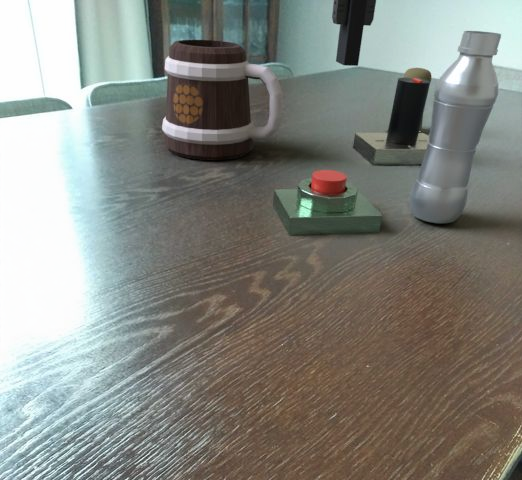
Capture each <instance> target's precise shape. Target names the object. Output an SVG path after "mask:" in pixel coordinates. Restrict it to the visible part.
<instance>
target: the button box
mask: <svg viewBox="0 0 522 480" xmlns="http://www.w3.org/2000/svg"><path fill="white" fill-rule="evenodd" d="M311 183H312V177H308V178H305V179H302V180H301V181H300V182H299V183H298V184H297V188H288V189H285V188H283V189H281V188H280V189H279V188H278V189H274V190H273V198H272V199H273V201H272V207H273V209H274V210H275V212H276V215H277V216H278V218H279V220H280V222H281V224H282V225H283V227H284V229H285V231H286V233H287V236H313V235H315V236H317V235H319V236H321V235H346V234H347V235H348V234H349V235H350V234H351V235H353V234H379V233H380V229H381V225H382V222H383V221H382V220H383V214H382V213H381V212H380V211H379V210H378V209H377V208H376V207H375V205H373V203H372V202H371V201H370V200H369V199H368V198H367V197H366V196H365V195H364V194H363V193H362V192H361V191H360V190H359V188H358V187H356V186H355V184H353V183H351V182H349V181H346V186H345V192H344V193H340V194H326V193H320V192H316V191H314V190H312V189H311Z"/></svg>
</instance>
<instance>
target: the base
mask: <svg viewBox="0 0 522 480" xmlns="http://www.w3.org/2000/svg"><path fill="white" fill-rule="evenodd" d="M387 133H388V132H354V136H353V137H354V138H353V142H352V148H353V149H354V150H355V151H356V152H357V153H358V154H360V155H361V156H362V157H363V158H365V160H367V161H368V162H369V163H370V164H371V165H372V166H421V165H422V162H423V159H424V156H425V153H426V149H427V144H428V141H429V134H428V135H427V134H426V133H424V132H421V133H419V134H418V138H417V142H416V143H414V144H398V143H394V142H391V141H388V140H387Z"/></svg>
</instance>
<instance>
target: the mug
mask: <svg viewBox="0 0 522 480" xmlns="http://www.w3.org/2000/svg"><path fill="white" fill-rule="evenodd" d="M168 52H169V54H168V56H167V57H166V58H165V61H164V71H165V72H166V73H167V80H166V81H167V82H166V103H165V117H164V118H163V119H162V126H161V130H162V132H163V133H164V134H163V135H164V137H163V144H164V146H165V147H166V148H167V149H168V150H169V151H170V152H171V153H172V154H174V155H177V156H179V157H183V158H187V159H191V160H200V161H201V160H202V161H223V160H224V161H225V160H231V159H237V158H241V157H243V156H245V155H247V154H248V153H249V152H250V151H251V149H252V148H253V147H254V141H253V140H258V141H260V140H261V141H262V140H267V139H269V138H270V137H271V136H273V135H274V134H276V133H277V132H278V131H279V128H280V125H281V122H282V118H283V100H284V99H283V97H284V96H283V89H282V87H281V84H280V82H279V79H278V76H276V74H275V73H274V72H273V71H272V70H271V69H270V67H268V66H265V65H260V64H255V63H250V62H249V61H248V60H247V53H246V49H244V47H243V46H242V45H241V44H239V43H236V42H232V41H223V40H213V39H179V40H175V41H173V42H172V44H171V45H170V46H169V51H168ZM249 79H252V80H260V81H261V82H262V83H263V84H264V85H265V88H266V90H267V92H268V95H269V113H268V114H269V115H268V120H267V123H266V124H265V125H264V126H255V125H254V122H253V120H252V119H251V116H252V115H251V102H250V87H249V86H250V85H249Z"/></svg>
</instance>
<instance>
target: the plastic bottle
mask: <svg viewBox="0 0 522 480" xmlns="http://www.w3.org/2000/svg"><path fill="white" fill-rule="evenodd" d="M501 38H502V33H499V32H492V31H491V32H490V31H481V30H464V31H463V33H462V36H461V40H460V44H459V45H458V47H457V49H456V50H457V52H459V55H458V57H457V58H456V60H454V62H453V63H452V64H451V65H450V66H449V67H448V68H447V69H446V70H445V71H444V72H443V73H442V75H441V76H440V77H439V79H438V81H437V83H436V85H435V87H434V92H433V101H432V102H433V103H432V113H431V122H430V128H429V134H428V136H429V141H428V144H427V149H426V153H425V156H424V159H423V162H422V165H420V169H419V172H418V175H417V177H416V179H415V180H414V181H415V182H414V184H413V186H412V189H411V191H410V195H409V209H410V212H411V214H412V215H413V216H414V217H415V218H417V219H419V220H421V221H423V222H428V223H431V224H432V223H433V224H450V223H454V222H455V221H456V220H458V218H459V217H461V216H462V213H463V211H464V209H465V207H466V205H467V199H468V194H469V182H470V177H471V171H472V167H473V162H474V157H475V155H476V151H477V149H478V148H477V147H478V145H479V142H480V139H481V136H482V134H483V132H484V128H485V126H486V125H487V121H488V119H489V117H490V115H491V112H492V110H493V109H494V105H495V103H496V101H497V98H498V96H499V80H498V76H497V72H496V70H495V68H494V64H493V57H494V56H497V55H498V51H499V49H498V48H499V45H500V41H501Z"/></svg>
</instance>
